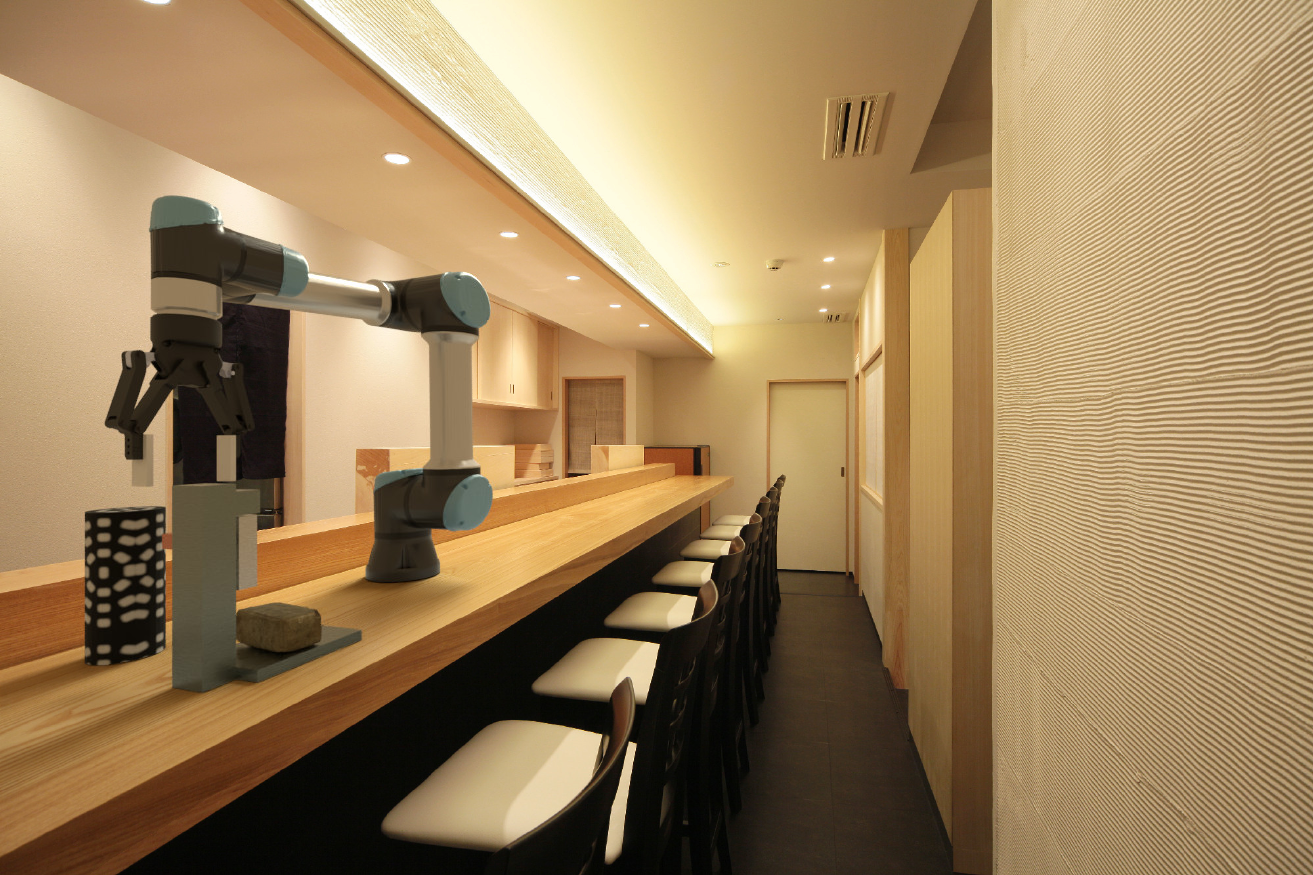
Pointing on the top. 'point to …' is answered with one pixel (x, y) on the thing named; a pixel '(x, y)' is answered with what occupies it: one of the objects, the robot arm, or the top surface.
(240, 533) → the hammer
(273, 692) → the top surface
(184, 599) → the press
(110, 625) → the white-spotted black cylinder
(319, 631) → the stone block
